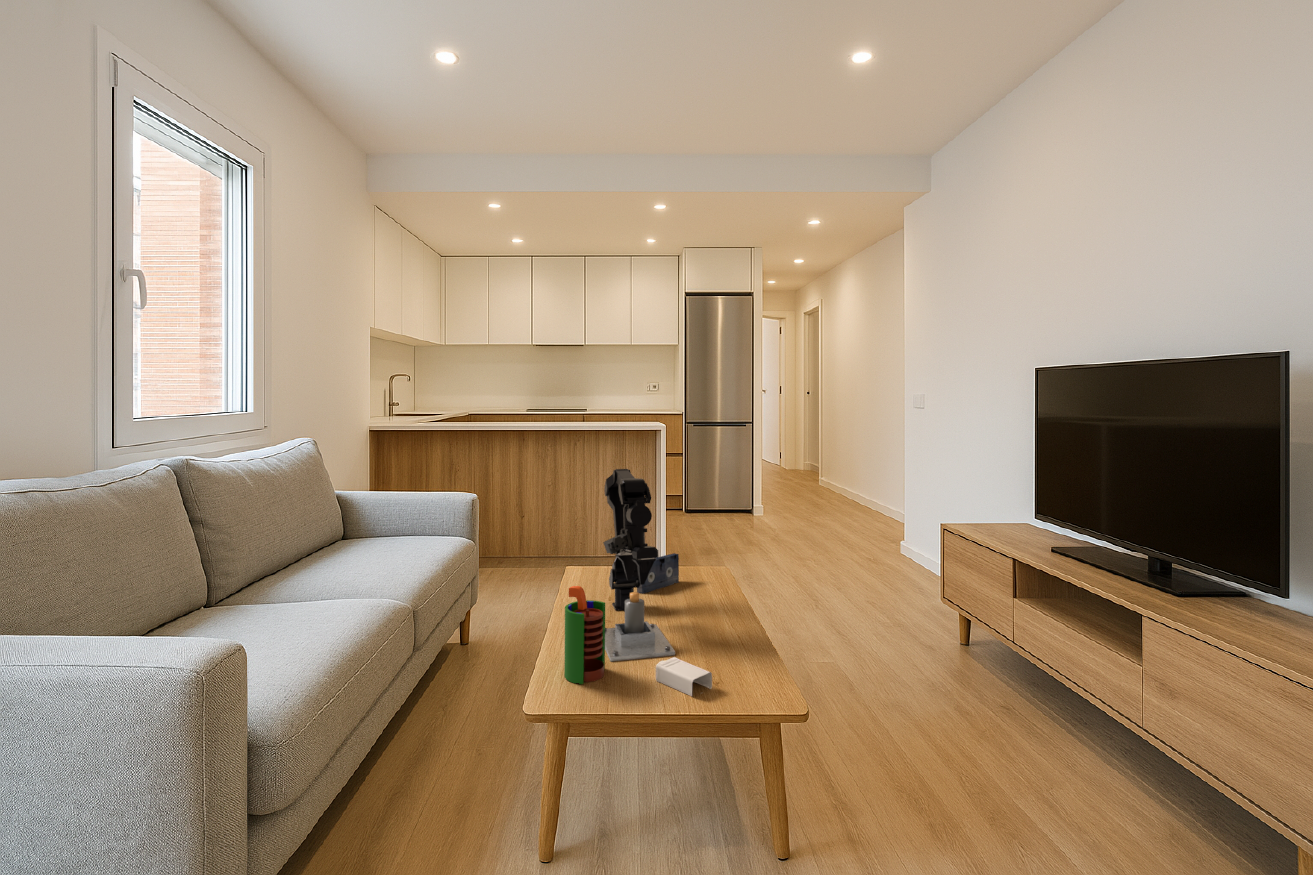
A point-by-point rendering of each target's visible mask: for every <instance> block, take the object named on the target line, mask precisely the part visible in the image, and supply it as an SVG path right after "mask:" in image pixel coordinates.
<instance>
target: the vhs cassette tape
mask: <svg viewBox="0 0 1313 875" xmlns="http://www.w3.org/2000/svg"><path fill="white" fill-rule="evenodd" d="M679 559H680V556H679V553H675V552H674V553H670V554H666V555H662V556H658V558H656V561H654V563H653V565H652V568H651V570H650V572H649V574H648V577H647V579H646V581H645V584H643V585H641V584H640V586H639V588H636V592H638V593H639V594H642V595H643V594H646V593H649V592H653V591H656V589H657V590H659V589H662V588H666V587H669V586H673V585H675V584H674V583H676V584H678V583H680V576H679V575H680V573H679V572H680V571H679V570H680V569H679V568H680V567H679V566H680V564H679V563H680V560H679Z"/></svg>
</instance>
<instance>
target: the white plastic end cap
mask: <svg viewBox="0 0 1313 875" xmlns="http://www.w3.org/2000/svg"><path fill="white" fill-rule="evenodd" d="M712 674H713V673H712V671H709V670H706V669H704V668H701V667H699V666H696V665H694V664H691V663H689V662H687V661H684V660H682V659H679V658H677V657H676V656H673V657H671V658H668V659H666V660H663V659H662V660H660V661H659V662H658V663H657V664H656V665H655V681H656V682H658V683H661V684H663V685H665V686H667V687H670V688H672V689H673V690H675V691H676V690H677V691H679V692H681V693H683V694H685V695H688V696H690V697H693V683H696V684H698V685H701V686H703V687H705V688H708V689H709V690H712V688H713V675H712ZM701 694H703V692H701Z"/></svg>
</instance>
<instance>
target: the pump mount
mask: <svg viewBox="0 0 1313 875" xmlns="http://www.w3.org/2000/svg"><path fill="white" fill-rule="evenodd" d="M605 653H606V654H607V657H608V659H609V662H620V661H629V660H639V659H650V658H651V659H652V658H660V657H671V656H675V655H676V651H675V649H674V648H673V646H672V645H671V643H670V641H669V640H668V639H667V638H666V637H665V635H664V633H663V632H662V630H661V629H660V627H659V626H658V625H657V624H656V623H655V624H654V623H649V622H648V621H644V632H642V633H630V634H625V622H622V623H615V624H614V627H608V628H607V627H605Z"/></svg>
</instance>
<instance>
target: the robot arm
mask: <svg viewBox="0 0 1313 875" xmlns="http://www.w3.org/2000/svg"><path fill="white" fill-rule="evenodd" d="M603 489H604V496H605V497H606V502H607V504H608V505H609V507H610V508H611V510H612V512H613V526H614V537H611V538H609V539H607V540H605V541H603V545H604V548H605V551H606V554H610V555H614V556H615V559H614V561H613V563H612V565H611V568H610V572H609V573H610V574H609V578H608V580H609V581H608V584H609V587H610V589H611V590H613V591H614V602H612V603H611V605H612V606H613V609H614V610H615V611H625V600H627V599H630V593H631V592H635V589H637V588H639V586H640V584H641V585H643V584H645V581H646V579H647V577H648V574H649V572H650V570H651V568H652V565H653V563H654V561H656V558H658V557H659V549H658V548H657V547H656V546H651V545H648V544H649V543H647V542H646V533H648V528H647V527H645V526H647V525H649V524H650V522H651V520H652V518H653V516H652V514H653V513H652V511H651V508H649V507H648V506H646V504H651V501H652V494H651V491H650V487H649V486H648V483H647V482H646V480H645V479H644V478H637V477H635V476H634V475H633V474H632V472H631V469H628V468H616V469H613V471H612V474H610V475H609V476H608V477H607V478H606V479H605V484H604V488H603Z"/></svg>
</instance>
